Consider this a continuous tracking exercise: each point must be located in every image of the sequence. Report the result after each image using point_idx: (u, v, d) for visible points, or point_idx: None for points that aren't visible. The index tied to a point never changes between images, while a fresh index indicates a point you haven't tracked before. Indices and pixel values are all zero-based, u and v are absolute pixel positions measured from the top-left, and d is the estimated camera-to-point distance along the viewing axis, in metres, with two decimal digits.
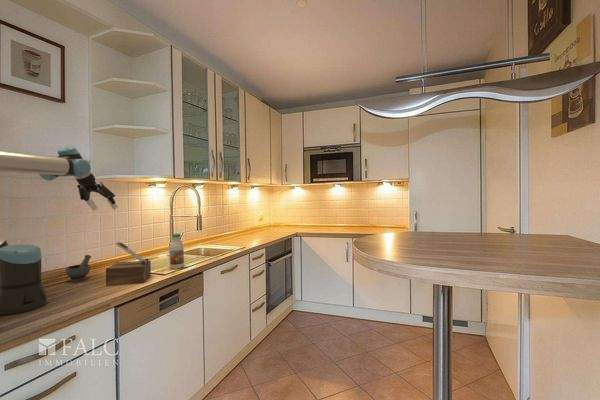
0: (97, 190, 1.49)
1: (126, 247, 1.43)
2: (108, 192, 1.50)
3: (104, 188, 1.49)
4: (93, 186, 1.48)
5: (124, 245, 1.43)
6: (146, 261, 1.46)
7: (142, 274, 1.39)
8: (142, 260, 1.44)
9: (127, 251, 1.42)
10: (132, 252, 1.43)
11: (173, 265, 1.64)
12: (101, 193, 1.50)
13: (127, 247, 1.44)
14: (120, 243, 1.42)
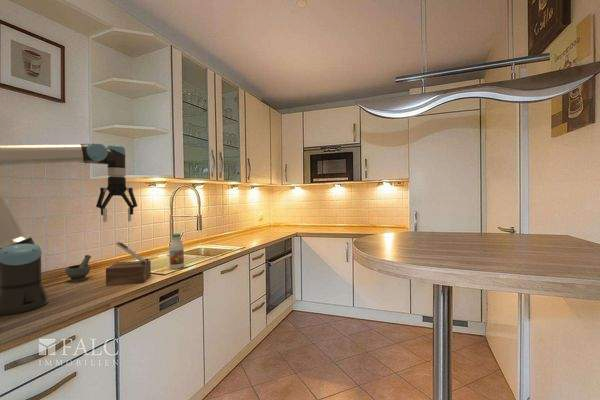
0: (124, 194, 1.42)
1: (126, 247, 1.43)
2: (134, 199, 1.44)
3: (133, 194, 1.44)
4: (123, 188, 1.41)
5: (124, 245, 1.43)
6: (146, 261, 1.46)
7: (142, 274, 1.39)
8: (142, 260, 1.44)
9: (127, 251, 1.42)
10: (132, 252, 1.43)
11: (173, 265, 1.64)
12: (126, 199, 1.42)
13: (127, 247, 1.44)
14: (120, 243, 1.42)
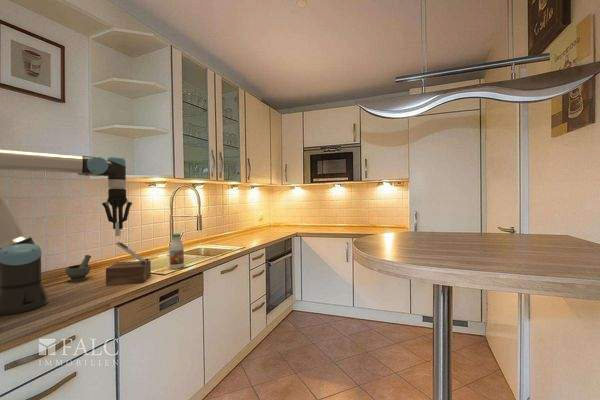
0: (121, 208, 1.41)
1: (126, 247, 1.43)
2: (127, 214, 1.43)
3: (128, 209, 1.43)
4: (123, 200, 1.41)
5: (124, 245, 1.43)
6: (146, 261, 1.46)
7: (142, 274, 1.39)
8: (142, 260, 1.44)
9: (127, 251, 1.42)
10: (132, 252, 1.43)
11: (173, 265, 1.64)
12: (120, 212, 1.41)
13: (127, 247, 1.44)
14: (120, 243, 1.42)
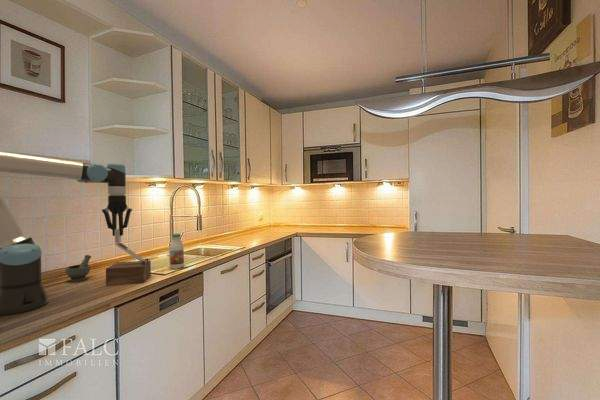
0: (121, 214, 1.41)
1: (126, 247, 1.43)
2: (127, 221, 1.43)
3: (128, 215, 1.43)
4: (123, 207, 1.41)
5: (124, 245, 1.43)
6: (146, 261, 1.46)
7: (142, 274, 1.39)
8: (142, 260, 1.43)
9: (127, 251, 1.42)
10: (132, 252, 1.43)
11: (173, 265, 1.64)
12: (121, 219, 1.41)
13: (127, 247, 1.44)
14: (120, 243, 1.42)
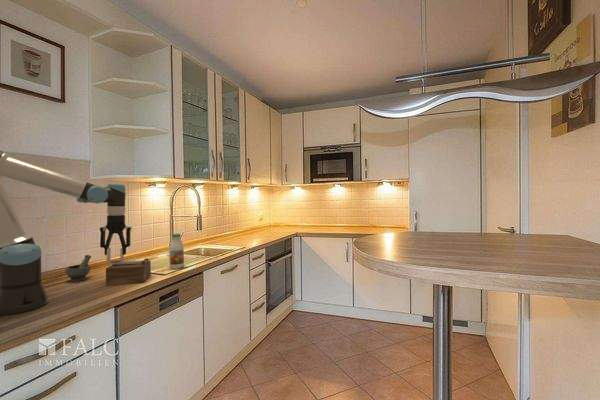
0: (121, 233, 1.41)
1: (119, 261, 1.42)
2: (129, 239, 1.43)
3: (129, 234, 1.43)
4: (121, 226, 1.41)
5: None
6: (146, 260, 1.46)
7: (142, 274, 1.39)
8: None
9: (122, 263, 1.41)
10: (128, 261, 1.43)
11: (173, 265, 1.64)
12: (122, 238, 1.41)
13: None
14: (111, 261, 1.41)
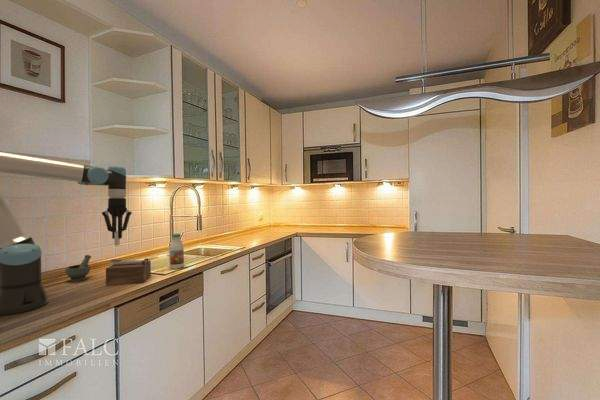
0: (120, 217, 1.41)
1: (119, 260, 1.42)
2: (126, 224, 1.43)
3: (128, 218, 1.43)
4: (123, 209, 1.41)
5: (117, 260, 1.42)
6: (146, 260, 1.46)
7: (142, 274, 1.39)
8: None
9: (122, 262, 1.41)
10: (128, 261, 1.43)
11: (173, 265, 1.64)
12: (120, 222, 1.41)
13: (121, 260, 1.43)
14: (112, 260, 1.41)
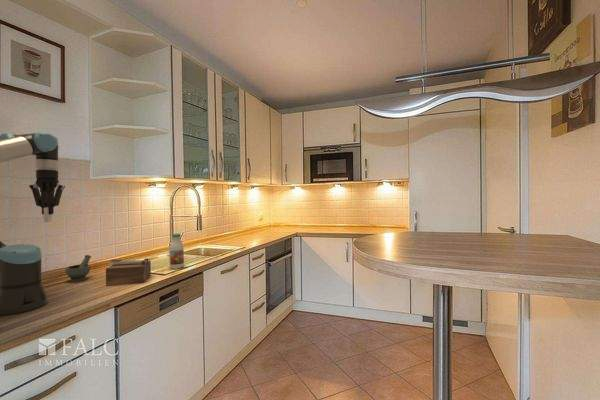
0: (50, 191, 1.28)
1: (119, 260, 1.42)
2: (58, 198, 1.29)
3: (60, 193, 1.30)
4: (53, 182, 1.28)
5: (117, 260, 1.42)
6: (146, 260, 1.46)
7: (142, 274, 1.39)
8: None
9: (122, 262, 1.41)
10: (128, 261, 1.43)
11: (173, 265, 1.64)
12: (50, 196, 1.28)
13: (121, 260, 1.43)
14: (112, 260, 1.41)
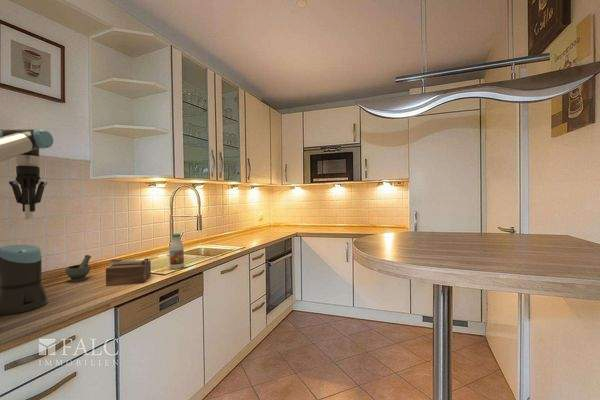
0: (32, 187, 1.25)
1: (119, 260, 1.42)
2: (40, 195, 1.27)
3: (42, 189, 1.27)
4: (34, 179, 1.25)
5: (117, 260, 1.42)
6: (146, 260, 1.46)
7: (142, 274, 1.39)
8: None
9: (122, 262, 1.41)
10: (128, 261, 1.43)
11: (173, 265, 1.64)
12: (31, 193, 1.25)
13: (121, 260, 1.43)
14: (112, 260, 1.41)
